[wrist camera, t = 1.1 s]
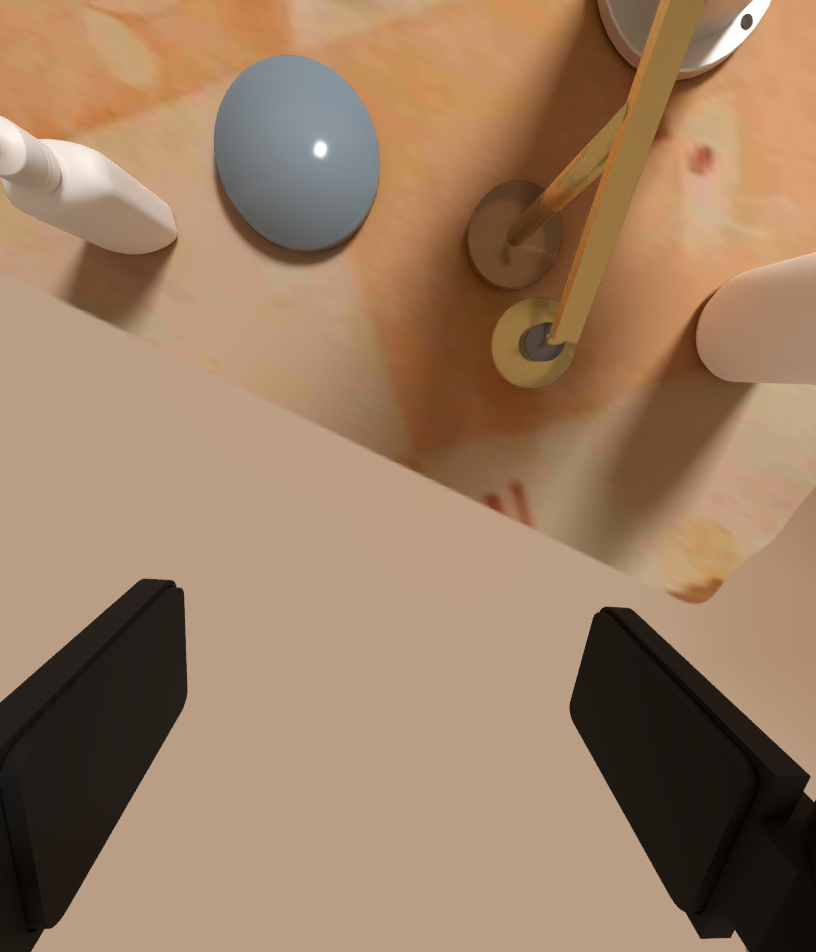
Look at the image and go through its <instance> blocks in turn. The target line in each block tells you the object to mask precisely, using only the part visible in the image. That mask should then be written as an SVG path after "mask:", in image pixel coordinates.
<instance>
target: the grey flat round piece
mask: <svg viewBox="0 0 816 952" xmlns="http://www.w3.org/2000/svg"><path fill="white" fill-rule="evenodd" d="M214 152H215V159H216V165H217V169H218V172H219V176H220V179H221V181H222V184H223V187H224V189H225V191H226V193H227V195H228V197H229V199H230V200H231V202H232V203H233V205H234V206H235V208H236V209H237V211H238V212H239V213H240V214H241V215H242V217H243V218H244V219H245V220H246V221H247V222H248V224H249V225H250V226H251V227H252V228H253V229H254V230H256V231H257V232H258V233H259V234H260V235H262V236H263V237H264V238H266V239H267V240H269V241H270V242H272V243H274V244H276V245H278V246H280V247H283V248H285V249H289V250H293V251H298V252H318V251H324V250H327V249H330V248H333V247H335V246H337V245H339V244H341V243H343V242H344V241H346V240H347V239H349V238H350V237H351V236H352V235H353V234H354V233H355V232H356V231H357V230H358V229H359V228H360V227H361V225H362V224H363V223H364V221H365V220H366V218H367V216H368V215H369V213H370V211H371V208H372V206H373V204H374V200H375V197H376V194H377V188H378V182H379V149H378V143H377V137H376V133H375V130H374V126H373V123H372V121H371V118H370V116H369V113H368V111H367V110H366V108H365V106H364V104H363V102H362V101H361V99H360V98H359V96H358V95H357V93H356V92H355V91H354V89H353V88H352V87H351V86H350V85H349V84H348V83H347V81H345V80H344V79H343V78H342V77H341V76H340V75H339V74H337V73H336V72H335V71H333V70H332V69H330V68H329V67H327V66H325V65H323V64H321V63H319V62H317V61H315V60H312V59H309V58H305V57H300V56H294V55H282V56H276V57H270V58H267V59H264V60H262V61H259V62H257V63H256V64H254V65H252V66H250V67H249V68H248V69H246V70H245V71H244V72H242V73H241V74H240V75H239V76H238V77H237V78H236V80H235V81H234V82H233V83H232V85H231V86H230V87H229V89H228V90H227V92H226V94H225V96H224V98H223V100H222V102H221V105H220V108H219V111H218V114H217V118H216V123H215V132H214Z"/></svg>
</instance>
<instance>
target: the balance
mask: <svg viewBox="0 0 816 952" xmlns="http://www.w3.org/2000/svg"><path fill="white" fill-rule="evenodd" d="M704 3H705V0H660V3H659V6H658V9H657V12H656V15H655V18H654V21H653V24H652V27H651V30H650V33H649V36H648V39H647V42H646V45H645V48H644V51H643V54H642V57H641V60H640V63H639V66H638V69H637V72H636V75H635V78H634V81H633V84H632V87H631V90H630V93H629V96H628V99H627V102H626V103H625V105H624V106H623V107H622V108H621V109H620V110H619V111H618V112H617V113H616V114H615V115H614V116H613V117H612V119H611V120H610V121H609V122H608V123H607V124H606V125H605V126H604V127H603V128H602V129H601V130H600V131H599V133H598V134H597V135H596V136H595V137H594V138H593V139H592V140H591V141H590V142H589V143H588V144H587V146H586V147H585V148H584V149H583V150H582V151H581V152H580V153H579V154H578V155H577V156H576V157H575V158H574V160H573V161H572V162H571V163H570V164H569V165H568V166H567V167H566V168H565V169H564V170H563V171H562V173H561V174H560V175H559V176H558V177H557V178H556V179H555V180H554V181H553V182H552V183H551V184H550V185H549V187H548V188H547V189H546V190H544V189H542V188H541V187H539V186H538V185H536V184H534V183H531V182H527V181H510V182H506V183H503V184H501V185H499V186H497V187H495V188H494V189H492V190H491V191H490V192H489V193H488V194H487V195H486V196H485V197H484V198H483V199H482V200H481V202H480V203H479V205H478V206H477V208H476V210H475V211H474V213H473V215H472V217H471V219H470V222H469V225H468V229H467V234H466V250H467V255H468V259H469V262H470V265H471V266H472V268H473V270H474V272H475V273H476V275H477V276H478V277H479V278H480V279H481V280H482V281H483V282H484V283H486V284H487V285H489V286H491V287H493V288H495V289H499V290H505V291H513V290H518V289H521V288H524V287H526V286H528V285H530V284H532V283H533V282H535V281H537V280H538V279H540V278H541V277H542V276H543V275H544V274H545V273H546V272H547V271H548V270H549V269H550V267H551V266H552V265H553V263H554V261H555V259H556V257H557V255H558V253H559V249H560V246H561V241H562V222H561V217H560V213H559V211H560V210H561V209H562V208H563V207H564V206H565V205H566V204H568V203H569V202H570V201H571V200H572V199H573V198H574V197H576V196H577V195H578V194H579V193H580V192H581V191H582V190H584V189H585V188H586V187H587V186H588V185H589V184H590V183H591V182H593V181H594V180H595V179H596V178H597V177H598V176H599V175H601V174H602V173H603V174H602V177H601V180H600V183H599V186H598V189H597V192H596V195H595V198H594V201H593V204H592V207H591V210H590V213H589V216H588V219H587V222H586V225H585V228H584V231H583V234H582V237H581V240H580V243H579V246H578V249H577V252H576V255H575V258H574V261H573V264H572V267H571V270H570V273H569V276H568V279H567V282H566V285H565V288H564V291H563V294H562V297H561V300H560V303H558V302H557V301H554V300H552V299H549V298H545V297H533V298H528V299H525V300H522V301H520V302H518V303H516V304H514V305H513V306H511V307H510V308H509V309H507V310H506V311H505V312H504V313H503V314H502V316H501V317H500V318H499V320H498V321H497V323H496V325H495V327H494V330H493V333H492V337H491V347H490V349H491V357H492V361H493V363H494V366H495V368H496V369H497V371H498V372H499V374H500V375H501V376H502V377H503V378H504V379H505V380H506V381H508V382H509V383H511V384H513V385H516V386H519V387H524V388H538V387H543V386H546V385H548V384H550V383H552V382H554V381H555V380H557V379H558V378H559V377H560V376H562V374H563V373H564V372H565V371H566V370H567V369H568V367H569V366H570V364H571V362H572V360H573V358H574V355H575V352H576V347H577V343H578V340H579V338H580V335H581V332H582V330H583V327H584V324H585V322H586V319H587V316H588V313H589V311H590V308H591V305H592V303H593V300H594V297H595V295H596V292H597V289H598V287H599V284H600V281H601V279H602V276H603V273H604V271H605V268H606V265H607V263H608V260H609V257H610V255H611V252H612V249H613V247H614V244H615V241H616V239H617V236H618V233H619V230H620V228H621V225H622V222H623V220H624V217H625V214H626V212H627V209H628V206H629V204H630V201H631V198H632V196H633V193H634V190H635V188H636V185H637V182H638V180H639V177H640V174H641V172H642V169H643V166H644V164H645V161H646V158H647V156H648V153H649V150H650V147H651V145H652V142H653V139H654V137H655V134H656V131H657V129H658V126H659V123H660V121H661V118H662V115H663V113H664V110H665V107H666V105H667V102H668V99H669V97H670V94H671V91H672V89H673V86H674V83H675V81H676V78H677V75H678V73H679V70H680V67H681V64H682V62H683V59H684V56H685V54H686V51H687V48H688V46H689V43H690V40H691V38H692V35H693V32H694V30H695V27H696V24H697V22H698V19H699V16H700V14H701V11H702V8H703V6H704Z"/></svg>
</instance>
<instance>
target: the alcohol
mask: <svg viewBox="0 0 816 952" xmlns="http://www.w3.org/2000/svg"><path fill="white" fill-rule="evenodd" d="M696 347H697V351H698V354H699V357H700V359H701V360H702V362H703V363H704V365H705V366H706V367H707V368H708V369H709V370H710V371H711V372H712V373H713V374H714V375H715V376H717V377H719V378H721V379H723V380H726V381H730V382H752V383H782V384H812V385H816V252H815V253H811V254H807V255H804V256H800V257H796V258H792V259H789V260H785V261H781V262H778V263H774V264H770V265H766V266H763V267H759V268H755V269H752V270H748V271H745V272H743V273H740V274H738V275H736V276H735V277H733V278H731V279H730V280H728V281H727V282H726V283H725V284H724V285H723V286H721V287H720V288H719V289H718V291H717V292H716V293H715V294H714V295H713V297H712V298H711V299H710V300H709V302H708V303H707V304H706V306H705V308H704V309H703V311H702V313H701V315H700V318H699V320H698V324H697V329H696Z"/></svg>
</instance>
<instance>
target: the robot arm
mask: <svg viewBox="0 0 816 952" xmlns="http://www.w3.org/2000/svg"><path fill="white" fill-rule="evenodd" d="M597 2H598V7H599V11H600V16H601V19H602V22H603V24H604V26H605V29H606V31H607V34H608V36H609V38H610V40H611V41H612V43H613V44H614V46H615V47H616V49H617V51H618V52H619V53H620V54H621V55H622V56H623V57H624V58H625V59H626V60H627V62H628V63H629V64H630V65H632V66H633V67H635V68H636V69H638V66H639V63H640V60H641V57H642V54H643V51H644V48H645V45H646V42H647V39H648V36H649V33H650V30H651V27H652V24H653V21H654V18H655V15H656V12H657V9H658V6H659V3H660V0H597ZM771 2H772V0H705V3H704V6H703V8H702V11H701V14H700V16H699V19H698V22H697V24H696V27H695V30H694V32H693V35H692V38H691V40H690V43H689V46H688V48H687V51H686V54H685V56H684V59H683V62H682V64H681V67H680V70H679V73H678V75H677V78H676V80H682V79H687V78H693V77H695V76H698V75H700V74H702V73H705V72H707V71H709V70H711V69H712V68H714V67H715V66H717V65H718V64H720V63H721V62H723V61H724V60H725V59H726V58H727V57H728V56H729V55H731V54H732V53H733V52H734V51H735V50H736V49H737V48H738V47H740V46H741V45H742V44H743V43H744V42H745V40H746V39H747V38H748V37H749V36H750V35H751V34H752V33H753V31H754V30H755V29H756V27H757V26H758V24H759V23H760V21H761V20H762V18H763V16H764V15H765V13H766V12H767V10H768V8H769V6H770V4H771ZM186 697H187V664H186V637H185V608H184V592H183V590H182V588H176V584H175V582H174V581H172V580H159V579H142V580H140V581H138V582H137V583H136V584H135V585H134V586H133V587H132V588H130V589H129V590H128V591H127V592H126V593H125V594H124V595H122V596H121V597H120V598H119V599H118V600H117V601H116V602H115V603H114V604H112V605H111V606H110V607H109V608H108V609H106V610H105V611H104V612H103V613H102V614H101V615H100V616H99V617H97V618H96V619H95V620H94V621H93V622H92V623H91V624H89V625H88V626H87V627H86V628H85V629H84V630H83V631H81V632H80V633H79V634H78V635H77V636H76V637H75V638H73V639H72V640H71V641H70V642H69V643H68V644H67V645H65V646H64V647H63V648H62V649H61V650H60V651H59V652H57V653H56V654H55V655H54V656H53V657H52V658H51V659H49V660H48V661H47V662H46V663H45V664H44V665H43V666H41V667H40V668H39V669H38V670H37V671H36V672H35V673H33V674H32V675H31V676H30V677H29V678H28V679H27V680H26V681H24V683H22V684H21V685H20V686H19V687H18V688H16V689H15V690H14V691H13V692H12V693H11V694H10V695H8V696H7V697H6V698H5V699H4V700H3V701H2V702H0V952H31V951H32V949H33V947H34V946H35V944H36V942H37V941H38V939H39V937H40V935H41V934H42V932H43V930H44V929H50V928H53V927H54V926H55V925H56V924H57V923H58V922H59V921H60V919H61V918H62V917H63V915H64V914H65V912H66V910H67V909H68V907H69V905H70V903H71V902H72V900H73V898H74V897H75V895H76V893H77V892H78V890H79V888H80V886H81V885H82V883H83V881H84V879H85V878H86V876H87V874H88V872H89V870H90V869H91V867H92V865H93V864H94V862H95V860H96V859H97V857H98V855H99V853H100V852H101V850H102V848H103V846H104V845H105V843H106V841H107V840H108V838H109V836H110V834H111V833H112V831H113V829H114V827H115V826H116V824H117V822H118V820H119V819H120V817H121V815H122V813H123V812H124V810H125V808H126V807H127V805H128V803H129V801H130V800H131V798H132V796H133V794H134V793H135V791H136V789H137V788H138V786H139V784H140V782H141V781H142V779H143V777H144V775H145V774H146V772H147V770H148V769H149V767H150V765H151V763H152V762H153V760H154V758H155V756H156V755H157V753H158V751H159V749H160V748H161V746H162V744H163V742H164V741H165V739H166V737H167V736H168V734H169V732H170V730H171V728H172V727H173V725H174V723H175V722H176V720H177V718H178V717H179V715H180V713H181V711H182V709H183V707H184V704H185V701H186ZM570 714H571V718H572V721H573V723H574V725H575V726H576V728H577V730H578V732H579V734H580V735H581V737H582V739H583V741H584V743H585V744H586V746H587V748H588V750H589V752H590V753H591V755H592V757H593V759H594V760H595V762H596V764H597V766H598V768H599V769H600V771H601V773H602V775H603V777H604V779H605V780H606V782H607V784H608V786H609V788H610V789H611V791H612V793H613V795H614V796H615V798H616V800H617V802H618V804H619V805H620V807H621V809H622V811H623V813H624V814H625V816H626V818H627V820H628V822H629V823H630V825H631V827H632V829H633V830H634V832H635V834H636V836H637V838H638V840H639V841H640V843H641V845H642V847H643V848H644V850H645V852H646V854H647V856H648V858H649V859H650V861H651V862H652V865H653V866H654V868H655V870H656V872H657V874H658V876H659V877H660V879H661V881H662V883H663V884H664V886H665V888H666V890H667V892H668V893H669V895H670V897H671V898H672V900H673V902H674V903H675V904H676V905H677V907H678V908H679V909H681V910H682V911H684V912H686V914H687V916H688V918H689V919H690V921H691V923H692V924H693V926H694V928H695V930H696V931H697V933H698V935H699V937H700V938H701V939H709V938H731V936H732V934H733V932H734V930H735V931H736V932H737V933H738V935H739V937H740V938H741V940H742V942H743V943H744V945H745V946H746V952H816V800H815V802H813V801H812V800H811V799H810V798H809V797H808V796H807V795H806V794H805V793H804V792H803V791H804V789H805V787H806V785H807V783H808V781H809V779H810V775H809V774H808V773H806V772H805V771H804V770H803V769H802V768H801V767H800V766H799V765H798V764H797V763H796V762H795V761H794V760H792V758H790V757H789V756H788V755H787V754H786V753H785V752H784V751H783V750H782V749H781V748H780V747H779V746H778V745H777V744H776V743H774V742H773V741H772V740H771V739H770V738H769V737H768V736H767V735H766V734H765V733H764V732H763V731H762V730H761V729H759V728H758V727H757V726H756V725H755V724H754V723H753V722H752V721H751V720H750V719H749V718H748V717H747V716H746V715H745V714H743V713H742V712H741V711H740V710H739V709H738V708H737V707H736V706H735V705H734V704H733V703H732V702H730V701H729V700H728V699H727V698H726V697H725V696H724V695H723V694H722V693H721V692H720V691H719V690H718V689H717V688H715V686H714V685H712V684H711V683H710V682H709V681H708V680H707V679H706V678H705V677H704V676H703V675H702V674H701V673H700V672H698V671H697V670H696V669H695V668H694V667H693V666H692V665H691V664H690V663H689V662H688V661H687V660H686V659H685V658H684V657H682V656H681V655H680V654H679V653H678V652H677V651H676V650H675V649H674V648H673V647H672V646H671V645H670V644H668V642H666V641H665V640H664V639H663V638H662V637H661V636H660V635H659V634H658V633H657V632H656V631H655V630H654V629H653V628H652V627H650V626H649V625H648V624H647V623H646V622H645V621H644V620H643V619H642V618H641V617H640V616H639V615H638V614H637V613H635V612H634V611H633V610H632V609H629V608H620V607H604V608H602V609H601V610H600V612H598V613H596V614H595V615H594V617H593V621H592V624H591V627H590V631H589V635H588V639H587V642H586V646H585V649H584V653H583V657H582V660H581V665H580V668H579V671H578V675H577V679H576V683H575V686H574V690H573V694H572V697H571V701H570Z"/></svg>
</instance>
